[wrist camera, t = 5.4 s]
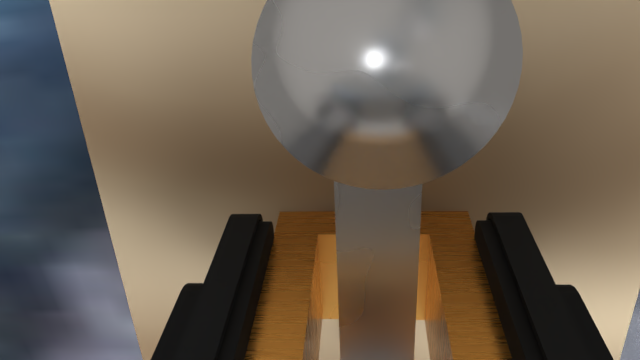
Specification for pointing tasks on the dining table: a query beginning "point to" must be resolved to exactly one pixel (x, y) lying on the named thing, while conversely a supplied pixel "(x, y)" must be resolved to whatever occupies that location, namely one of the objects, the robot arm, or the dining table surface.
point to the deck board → (318, 191)
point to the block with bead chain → (322, 290)
